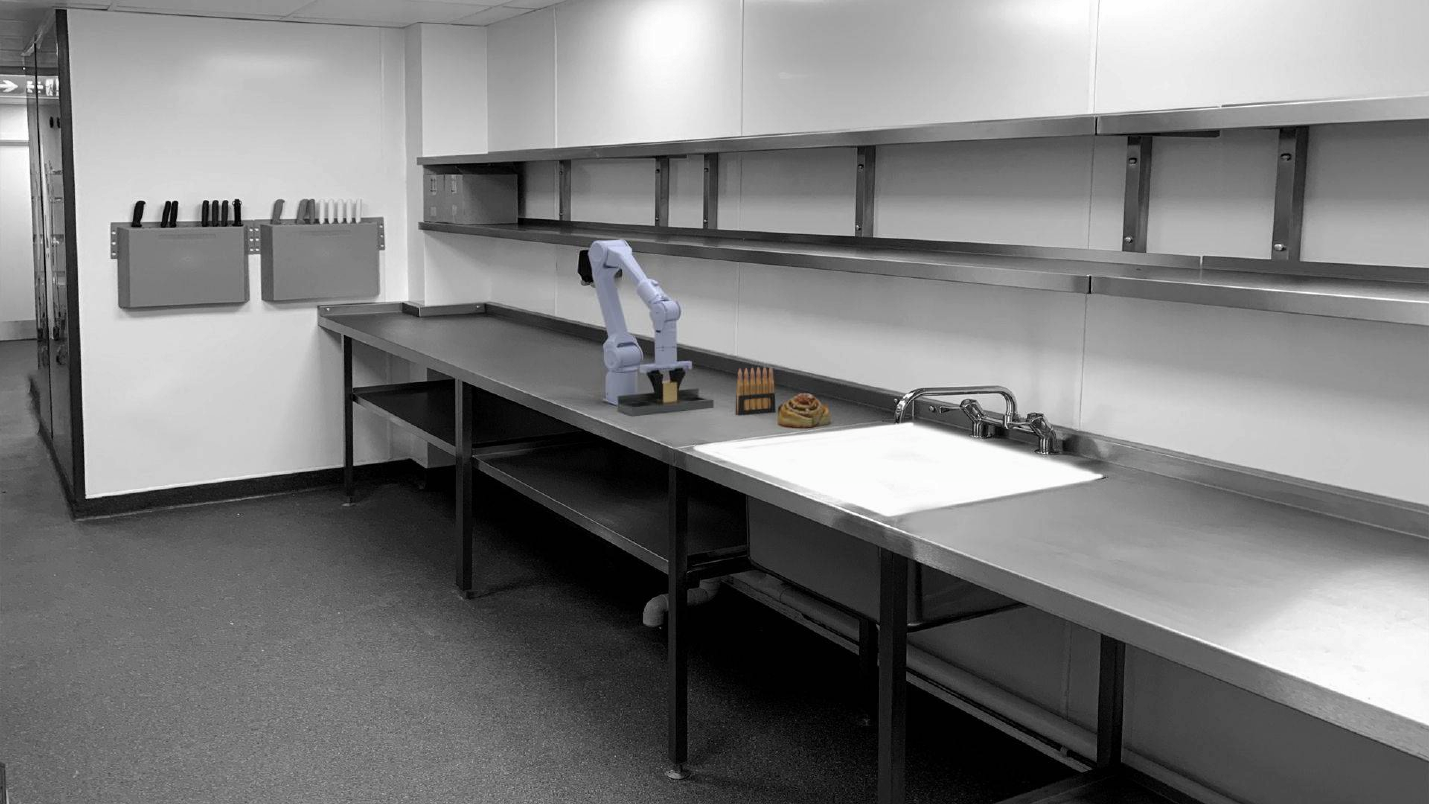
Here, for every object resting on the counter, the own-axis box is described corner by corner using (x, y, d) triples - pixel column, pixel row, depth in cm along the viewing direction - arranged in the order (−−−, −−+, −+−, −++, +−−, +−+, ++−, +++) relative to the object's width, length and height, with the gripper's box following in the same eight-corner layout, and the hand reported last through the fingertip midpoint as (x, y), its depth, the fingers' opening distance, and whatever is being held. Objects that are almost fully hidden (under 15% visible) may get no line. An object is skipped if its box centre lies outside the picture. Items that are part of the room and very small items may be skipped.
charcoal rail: (617, 410, 314) (617, 395, 314) (697, 402, 326) (697, 387, 325) (632, 416, 307) (632, 400, 306) (713, 407, 319) (713, 392, 318)
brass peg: (656, 407, 317) (656, 381, 316) (670, 406, 319) (669, 380, 318) (663, 409, 313) (663, 383, 312) (677, 408, 315) (676, 382, 314)
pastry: (781, 430, 289) (781, 397, 288) (772, 418, 304) (772, 387, 303) (836, 428, 291) (836, 396, 289) (824, 417, 305) (824, 386, 304)
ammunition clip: (738, 415, 307) (738, 369, 305) (735, 414, 309) (735, 368, 307) (775, 412, 312) (775, 366, 309) (772, 411, 313) (772, 365, 311)
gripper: (647, 350, 306) (648, 402, 309) (697, 346, 314) (697, 397, 316) (635, 347, 312) (636, 398, 315) (684, 343, 320) (684, 393, 322)
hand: (666, 398), depth 316 cm, fingers closed on brass peg, 4 cm apart
